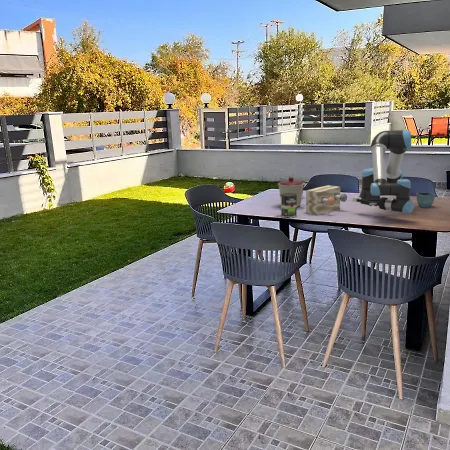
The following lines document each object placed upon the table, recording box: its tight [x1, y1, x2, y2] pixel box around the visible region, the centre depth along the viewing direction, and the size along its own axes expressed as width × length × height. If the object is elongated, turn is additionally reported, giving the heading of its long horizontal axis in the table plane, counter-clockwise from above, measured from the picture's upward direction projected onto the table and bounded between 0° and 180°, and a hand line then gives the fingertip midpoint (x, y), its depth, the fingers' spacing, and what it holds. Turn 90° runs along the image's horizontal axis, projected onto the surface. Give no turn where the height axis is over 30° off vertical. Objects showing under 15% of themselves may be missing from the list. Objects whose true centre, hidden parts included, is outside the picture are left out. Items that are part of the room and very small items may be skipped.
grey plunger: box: [334, 193, 348, 203], centre depth 302 cm, size 12×5×5 cm, turn 42°
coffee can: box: [280, 193, 298, 218], centre depth 292 cm, size 10×10×14 cm
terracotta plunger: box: [321, 197, 335, 205], centre depth 293 cm, size 12×5×5 cm, turn 42°
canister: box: [277, 176, 305, 208], centre depth 317 cm, size 18×18×21 cm
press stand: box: [305, 184, 342, 216], centre depth 302 cm, size 10×24×15 cm, turn 132°
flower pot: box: [415, 192, 436, 209], centre depth 303 cm, size 9×9×9 cm
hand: (353, 199), depth 293 cm, fingers closed
